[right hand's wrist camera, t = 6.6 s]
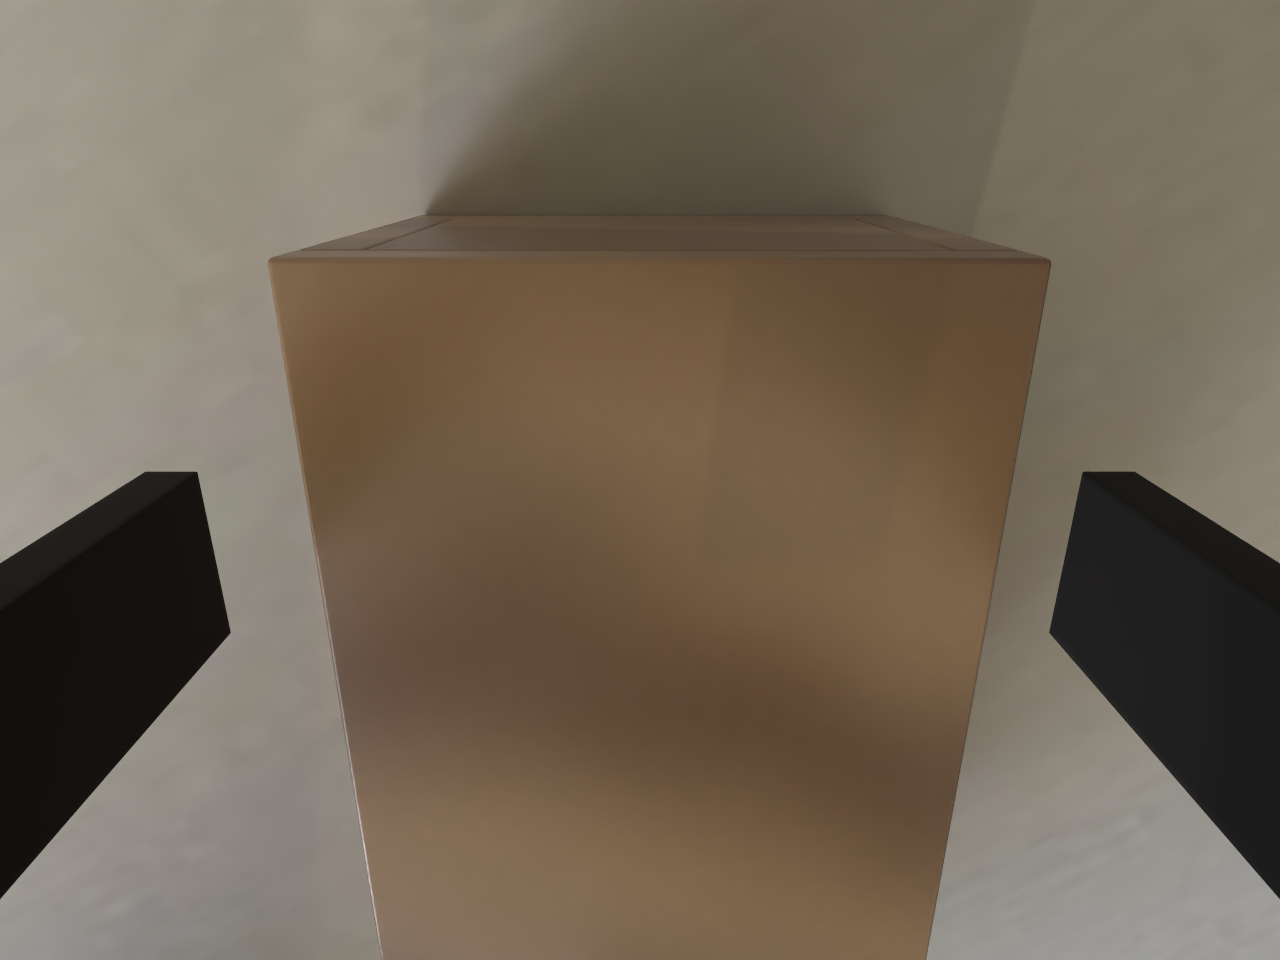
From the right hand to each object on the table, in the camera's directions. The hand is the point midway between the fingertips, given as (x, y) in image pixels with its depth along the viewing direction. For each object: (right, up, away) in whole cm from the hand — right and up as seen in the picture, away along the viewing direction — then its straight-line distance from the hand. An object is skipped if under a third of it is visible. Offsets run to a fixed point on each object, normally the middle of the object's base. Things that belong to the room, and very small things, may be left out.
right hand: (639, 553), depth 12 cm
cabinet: (0, 0, +10) cm, 10 cm away
